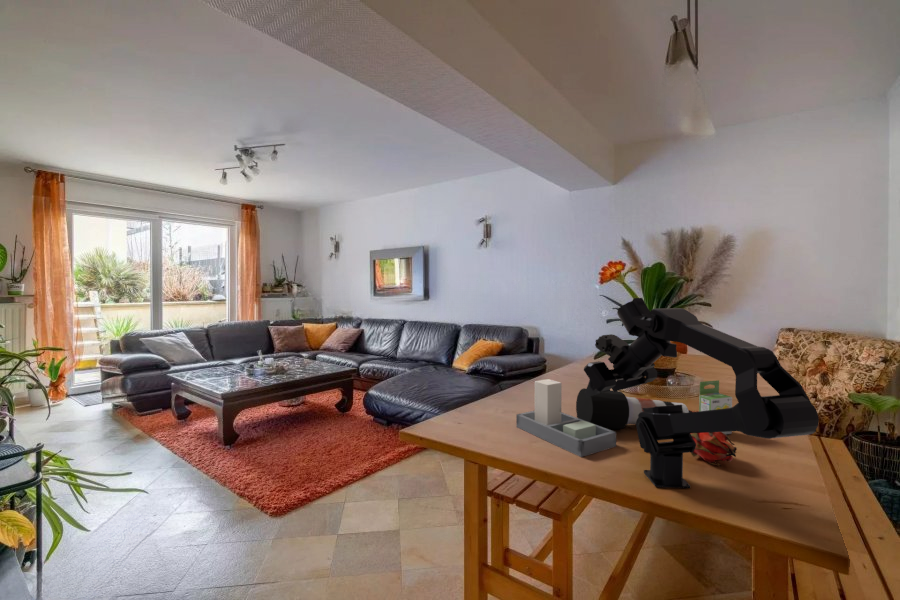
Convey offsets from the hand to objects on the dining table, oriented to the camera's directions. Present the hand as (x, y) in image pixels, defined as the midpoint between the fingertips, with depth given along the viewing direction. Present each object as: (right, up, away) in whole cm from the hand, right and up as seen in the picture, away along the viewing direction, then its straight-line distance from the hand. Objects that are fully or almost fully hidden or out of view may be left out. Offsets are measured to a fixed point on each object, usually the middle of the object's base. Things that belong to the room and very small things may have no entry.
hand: (600, 392), depth 96 cm
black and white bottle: (+17, -13, +16) cm, 27 cm away
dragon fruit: (+22, -14, -6) cm, 27 cm away
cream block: (-9, -12, +14) cm, 20 cm away
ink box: (+34, -13, +10) cm, 38 cm away
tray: (-6, -13, +9) cm, 17 cm away
